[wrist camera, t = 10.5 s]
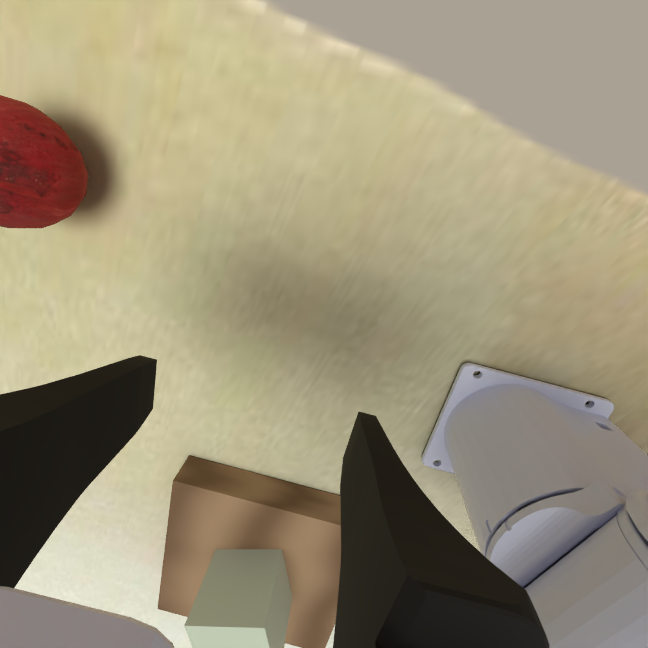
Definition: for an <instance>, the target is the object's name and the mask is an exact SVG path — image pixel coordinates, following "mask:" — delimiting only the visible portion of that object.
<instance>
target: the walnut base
mask: <svg viewBox="0 0 648 648" xmlns="http://www.w3.org/2000/svg"><path fill="white" fill-rule="evenodd" d="M215 549H282V552H283V557H284V561H285V566H286V571H287V575H288V580H289V584H290V589H291V593H292V602H291V608H290V614H289V620H288V626H287V632H286V638H285V643H287V644H290V645H294V646H298V647H302V648H325V647H326V644H327V642H328V640H329V637H330V635H331V632H332V630H333V627H334V625H335V622H336V613H337V602H338V590H339V578H340V566H341V499H340V496H339V495H335V494H332V493H328V492H324V491H320V490H317V489H313V488H309V487H305V486H302V485H298V484H294V483H290V482H287V481H283V480H279V479H275V478H272V477H268V476H264V475H260V474H257V473H253V472H249V471H245V470H242V469H238V468H234V467H230V466H227V465H223V464H219V463H215V462H212V461H208V460H204V459H201V458H197V457H193V456H189V457H188V458H187V460H186V461H185V463H184V464H183V466H182V468H181V469H180V471H179V472H178V474H177V475H176V477H175V478H174V480H173V485H172V493H171V502H170V510H169V518H168V527H167V535H166V543H165V552H164V560H163V568H162V577H161V585H160V593H159V602H158V609H160V610H164V611H168V612H171V613H175V614H179V615H183V616H186V617H188V616H189V614H190V611H191V609H192V606H193V604H194V601H195V599H196V596H197V594H198V591H199V589H200V586H201V584H202V582H203V579H204V577H205V574H206V572H207V569H208V567H209V564H210V562H211V559H212V557H213V554H214V552H215Z"/></svg>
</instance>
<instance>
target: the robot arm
mask: <svg viewBox="0 0 648 648" xmlns="http://www.w3.org/2000/svg"><path fill="white" fill-rule="evenodd" d="M156 364H157V360H156V359H152V358H148V357H144V356H140V355H139V356H135V357H131V358H128V359H125V360H122V361H119V362H116V363H113V364H110V365H107V366H103V367H100V368H97V369H94V370H91V371H88V372H85V373H82V374H79V375H75V376H72V377H69V378H65V379H62V380H58V381H55V382H51V383H48V384H44V385H40V386H37V387H32V388H28V389H24V390H19V391H15V392H10V393H5V394H0V648H174V646H173V643H172V642H170V641H169V640H168V639H167V638H166V637H165V636H164V635H163V634H162V633H161V632H160V631H159V630H158V629H157V628H155V627H152V626H150V625H148V624H145V623H143V622H141V621H138V620H136V619H133V618H131V617H127V616H123V615H119V614H115V613H111V612H107V611H103V610H99V609H95V608H91V607H87V606H83V605H79V604H75V603H71V602H67V601H63V600H59V599H55V598H51V597H47V596H43V595H39V594H35V593H30V592H26V591H22V590H18V589H14V587H15V586H16V584H17V583H18V581H19V580H20V578H21V577H22V575H23V574H24V573H25V571H26V570H27V568H28V567H29V565H30V564H31V562H32V561H33V559H34V558H35V556H36V555H37V554H38V552H39V551H40V549H41V548H42V547H43V545H44V544H45V542H46V541H47V539H48V538H49V537H50V535H51V534H52V532H53V531H54V530H55V528H56V527H57V525H58V524H59V523H60V521H61V520H62V519H63V517H64V516H65V515H66V513H67V512H68V511H69V509H70V508H71V507H72V505H73V504H74V503H75V501H76V500H77V499H78V498H79V496H80V495H81V494H82V493H83V492H84V490H85V489H86V488H87V487H88V486H89V484H90V483H91V482H92V481H93V480H94V479H95V478H96V477H97V476H98V475H99V473H100V472H101V471H102V470H103V469H104V468H105V467H106V466H107V465H108V464H109V463H110V461H111V460H112V459H113V458H114V457H115V456H116V455H117V454H118V453H119V452H120V450H121V449H122V448H123V447H124V446H125V445H126V444H127V443H128V441H129V440H130V439H131V438H132V437H133V436H134V435H135V434H136V432H137V431H138V430H139V428H140V427H141V425H142V424H143V423H144V421H145V420H146V418H147V417H148V415H149V414H150V412H151V411H152V409H153V400H154V388H155V376H156ZM476 371H480V373H479V375H473V373H474V372H476ZM587 401H590V403H589V404H586V405H585V403H586V402H587ZM613 410H614V404H613V403H612V402H611V401H610V400H608V399H605V398H602V397H598V396H594V395H590V394H586V393H583V392H579V391H575V390H571V389H568V388H564V387H560V386H556V385H553V384H549V383H545V382H541V381H537V380H534V379H530V378H526V377H522V376H519V375H515V374H511V373H507V372H504V371H500V370H496V369H492V368H488V367H485V366H481V365H477V364H473V363H465V364H463V365H462V366H461V367H460V370H459V372H458V374H457V376H456V379H455V381H454V383H453V386H452V388H451V390H450V393H449V395H448V397H447V400H446V402H445V404H444V407H443V409H442V411H441V413H440V416H439V418H438V420H437V423H436V425H435V427H434V430H433V432H432V434H431V437H430V439H429V441H428V444H427V446H426V448H425V450H424V453H423V455H422V462H423V464H424V465H425V466H427V467H431V468H435V469H438V470H442V471H446V472H450V473H453V474H455V476H456V479H457V482H458V485H459V488H460V491H461V494H462V497H463V500H464V503H465V506H466V509H467V512H468V515H469V518H470V521H471V524H472V527H473V530H474V533H475V536H476V539H477V542H478V545H479V548H480V551H481V553H480V552H479V551H478V550H477V549H476V548H475V547H474V546H473V545H472V544H470V543H469V542H468V541H467V540H466V539H465V538H464V537H463V536H462V535H461V534H460V533H459V532H458V531H457V530H456V529H455V528H454V527H453V526H452V525H451V524H450V523H449V522H448V520H447V519H446V518H445V517H444V516H443V515H442V514H441V513H440V512H439V511H438V510H437V508H436V507H435V506H434V505H433V504H432V503H431V501H430V500H429V499H428V498H427V496H426V495H425V494H424V493H423V491H422V490H421V489H420V488H419V486H418V485H417V484H416V482H415V481H414V479H413V478H412V477H411V475H410V474H409V472H408V471H407V469H406V468H405V466H404V465H403V463H402V462H401V460H400V458H399V457H398V455H397V453H396V452H395V450H394V448H393V447H392V445H391V443H390V441H389V440H388V438H387V436H386V434H385V432H384V430H383V428H382V427H381V425H380V423H379V421H378V419H377V417H376V416H374V415H370V414H366V413H362V412H358V415H357V418H356V421H355V424H354V427H353V430H352V433H351V436H350V439H349V442H348V445H347V448H346V451H345V454H344V457H343V465H342V474H341V484H340V499H341V566H340V578H339V590H338V602H337V613H336V623H335V634H334V644H333V648H648V455H647V454H646V453H645V452H644V451H643V450H642V449H641V448H640V447H639V446H638V445H636V444H635V443H634V442H633V441H632V440H631V439H630V438H629V437H628V436H627V435H626V434H624V433H623V432H622V431H621V430H620V429H619V428H618V427H617V426H616V425H615V424H613V423H612V422H611V421H610V420H609V419H608V418H609V416H610V415H611V413H612V412H613ZM436 460H439V462H434V461H436Z"/></svg>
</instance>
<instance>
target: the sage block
mask: <svg viewBox="0 0 648 648" xmlns="http://www.w3.org/2000/svg"><path fill="white" fill-rule="evenodd" d="M291 602H292V593H291V589H290V584H289V580H288V575H287V571H286V566H285V561H284V557H283V552H282V549H215V552H214V554H213V557H212V559H211V562H210V564H209V567H208V569H207V572H206V574H205V577H204V579H203V582H202V584H201V586H200V589H199V591H198V594H197V596H196V599H195V601H194V604H193V606H192V609H191V611H190V614H189V616H188V619H187V621H186V623H185V628H186V631H187V634H188V636H189V639H190V642H191V644H192V647H193V648H284V644H285V638H286V632H287V626H288V620H289V614H290V608H291Z"/></svg>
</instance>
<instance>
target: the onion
mask: <svg viewBox="0 0 648 648" xmlns="http://www.w3.org/2000/svg"><path fill="white" fill-rule="evenodd" d="M87 180H88V172H87V169H86V166H85V163H84V160H83V157H82V154H81V152H80V151H79V150H78V148H77V147H76V146H75V144H74V143H73V142H72V141H71V139H70V138H69V137H68V135H67V134H66V133H65V131H64V130H63V129H62V128H61V126H59V125H58V124H57V123H55V122H54V121H53V120H52V119H50V118H49V117H48V116H46V115H45V114H44V113H43V112H41V111H40V110H38V109H36V108H34V107H32V106H31V105H29V104H27V103H24V102H21V101H18V100H14V99H11V98H8V97H4V96H1V95H0V226H2V227H6V228H44V227H47V226H50V225H53V224H55V223H57V222H59V221H61V220H63V219H65V218H67V217H69V216H71V214H72V213H73V212H74V211H75V210H76V208H77V207H78V206H79V204H80V203H81V201H82V200H83V198H84V197H85V195H86V191H87Z"/></svg>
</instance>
